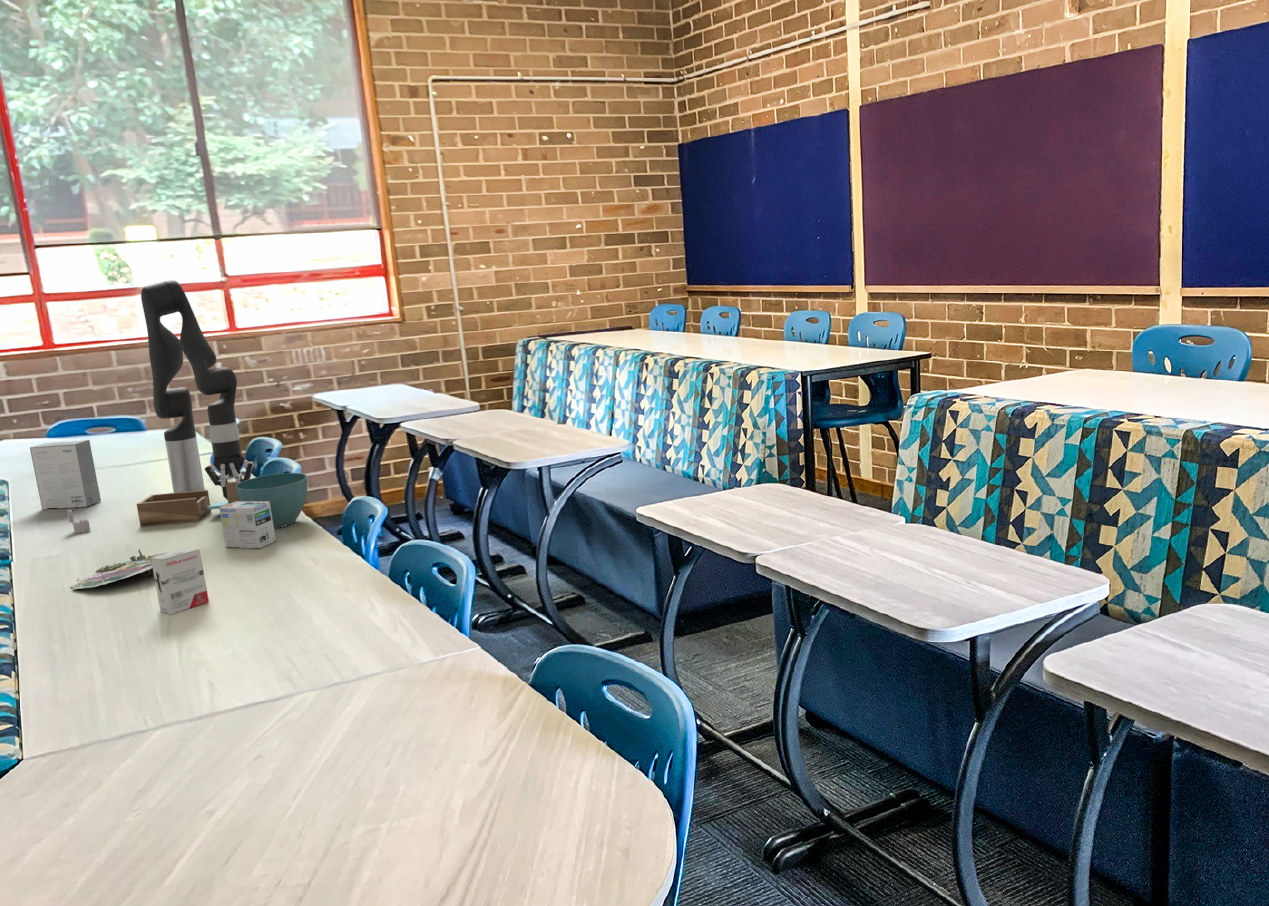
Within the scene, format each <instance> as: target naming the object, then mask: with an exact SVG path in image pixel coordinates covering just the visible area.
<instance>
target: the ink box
mask: <svg viewBox="0 0 1269 906" xmlns="http://www.w3.org/2000/svg"><path fill="white" fill-rule="evenodd" d="M166 553H167V554H163V555H159V556H156V557H152V558H151V562H152V567H153V573H154V575H153V578H154V583H155V590H156V593H157V595H156V596H157V600H158V601H157V602H158V605H159V610H160V611H161V612H163V613H166V614H169V615H174V614H177V613H180V612H182V611H183V612H184V611H185V610H186V611H187V610H189V609H192V608H195V607H196V608H197V607H198V606H201V605H204V604H207V603H209V602H210V600H209V595H208V594H209V593H208V588H207V583H206V578H205V572H204V568H203V560H202V555H201V551H200V549H199V548H194V547H185V548H181V549H177V550H175V551H171V552H170V553H169V552H166Z"/></svg>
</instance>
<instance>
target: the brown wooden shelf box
mask: <svg viewBox="0 0 1269 906" xmlns="http://www.w3.org/2000/svg"><path fill="white" fill-rule="evenodd" d="M210 505H211V501H210V495H209V490H208V489H204V490H200V491H189V492H178V493H174V492H169V493H168V492H167V493H157V494H150V495H149V496H147V497H146V498H144V499H143V500H140V501H139V502H138V503H136V509H137V514H138V520H139V525H140V527H141V528H142V527H149V526H159V525H160V526H161V525H173V524H182V523H194V522H200V521H201V520H202V519H204V518H205V517H207V516H208V515H209V514H210V513H211V512H212V509H209V510H208V509H207V507H208V506H210ZM210 511H211V512H210ZM208 513H209V514H208ZM207 514H208V515H207Z"/></svg>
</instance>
